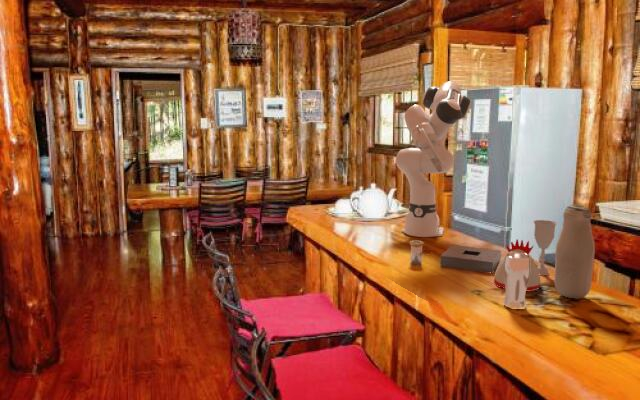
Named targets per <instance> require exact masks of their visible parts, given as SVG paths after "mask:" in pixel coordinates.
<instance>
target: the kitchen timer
mask: <svg viewBox="0 0 640 400" xmlns="http://www.w3.org/2000/svg"><path fill="white" fill-rule="evenodd" d="M510 245H511V248H510V247H509V245H508V244H506V245H505V247H506V249H507V253H512V252H515V253H524V254H527V255H529V256H530V277H529V282H528V286H527V289H526V290H532V289H537V288H539V287H540V288H541V277H540V276H541V275H539V272H538V268H537V267H538V266H539V265H537V263H536V261H535V260H534V258H533V257H532V255H531V254H530V253H531V251H532V249H533V248H534V244H533V245H532V246H531V247H530V241H529V240H528V241H527V242H526V245H525V246H524V239H521V241H520V244H519V240H518V238H517V239H516V240H515V244H514V242H513V241H511V242H510ZM505 257H506V254H505V255H504V256H503V257H502V258H501V261H500V262H499V264H498V266H497V267H496V269H495V271H494V275H493V276H494V278H493V284H494V283H495V284H496V285H498V286H500V287H504V288H505V281H504V263H505ZM495 284H494V285H495ZM496 285H495V286H496ZM498 286H497V287H498ZM500 287H499V288H500Z"/></svg>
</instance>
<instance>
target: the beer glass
mask: <svg viewBox="0 0 640 400" xmlns="http://www.w3.org/2000/svg"><path fill="white" fill-rule="evenodd" d="M505 255H506V257H505V263H504V281H505V289H504V290H505V296H504V301H503V304H505V305H507V306H510V307H516V308H520V307H525V306H526V307H527V303H526V293H527V292H526V289H527V286H528V282H529V277H530V256H531V255H530V256H529V255H527V254H524V253H515V252H512V253H508V252H507V253H505Z"/></svg>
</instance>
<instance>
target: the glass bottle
mask: <svg viewBox="0 0 640 400" xmlns="http://www.w3.org/2000/svg"><path fill="white" fill-rule="evenodd" d="M562 218H563V222H562V227H561V230H560V232H559V235H558V238H557V240H556V243H555V244H556V246H555V258H554V259H555V260H554V261H555V262H554V266H555V267H554V280H553V281H554V286H555V290H556V291H557V293H558V294H559V295H560V296H562V297H564V296H565V297H564V298H567V297H569V298H568V299H570V298H575V299H574V300H580V298H581V299H583V298H585V297H586V296H587V295H588V294H589V293H590V290H591V289H592V279H593V272H594V260H595V250H596V249H595V247H596V246H595V239H594V236H593V229H592V224H591V220H592V211H591V209H590V207H587V206H585V205H581V204H570V205H568V206H567V207H565V209H564V211H563V215H562Z"/></svg>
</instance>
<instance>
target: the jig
mask: <svg viewBox="0 0 640 400" xmlns="http://www.w3.org/2000/svg"><path fill="white" fill-rule="evenodd" d="M501 256H502V250H500V249H491V248H485V247H484V248H483V247H475V246H464V245H455V244H452V245H451V246H450V247H449V248H448V249H446V250H445V251H444V252H443V253H442V254H441V255H440V264H439V265H440V268H441V267H442V268H448V267H449V269H455V268H458V269H457V270H463V269H466V270H465V271H470V270H473V271H472V272H478V271H482V272H481V273H485V272H491V273H490V274H493V273H494V272H495V271H496V269H497V267H498V266H497V265H499V264H498V263H500V261H501V259H502V258H501ZM496 266H497V267H496ZM495 268H496V269H495ZM493 271H494V272H493ZM492 272H493V273H492Z"/></svg>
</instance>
